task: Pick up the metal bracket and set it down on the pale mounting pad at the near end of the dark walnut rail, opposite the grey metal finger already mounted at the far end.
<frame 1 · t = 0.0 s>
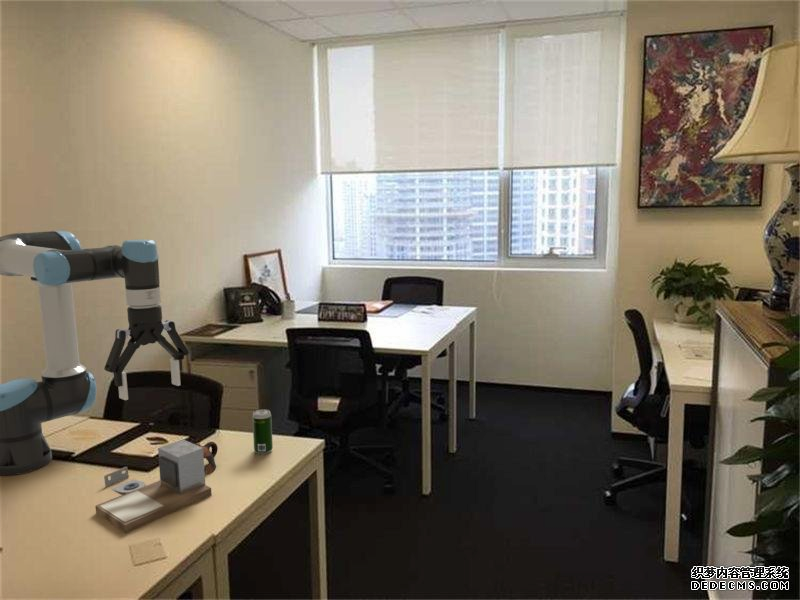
hand: (150, 391, 150), 28 cm above the table, fingers open, 13 cm apart
beer can: (263, 451, 183), on the table
pottery mug: (200, 468, 172), on the table
fixed finger: (183, 492, 158), resting on rail
bracket: (127, 487, 162), on the table
rail: (155, 504, 152), on the table
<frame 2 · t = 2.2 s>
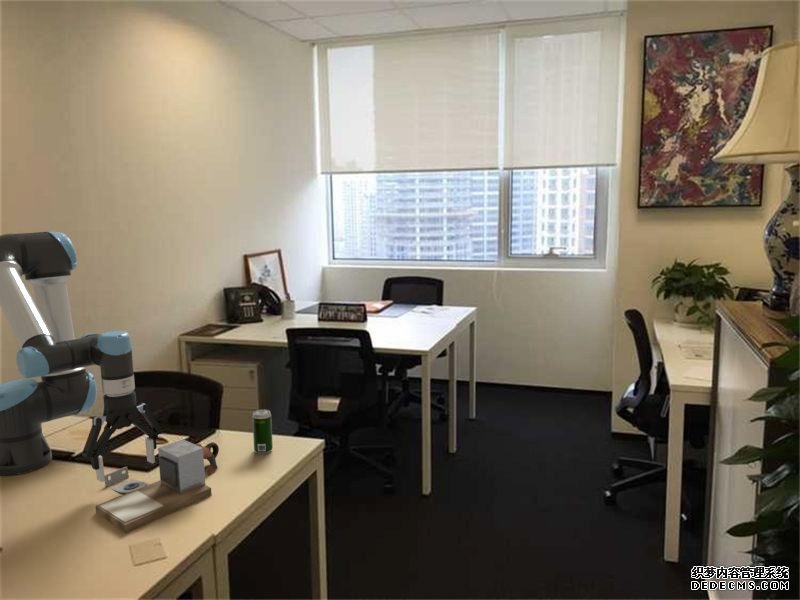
hand: (126, 470, 161), 4 cm above the table, fingers open, 13 cm apart
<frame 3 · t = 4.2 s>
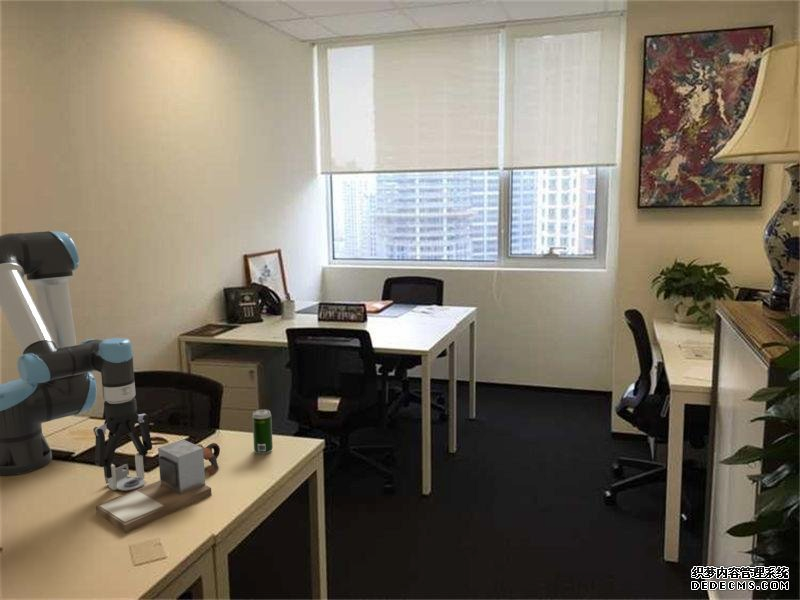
hand: (126, 482, 162), 1 cm above the table, fingers closed on bracket, 7 cm apart
bracket: (127, 484, 162), on the table, touching gripper
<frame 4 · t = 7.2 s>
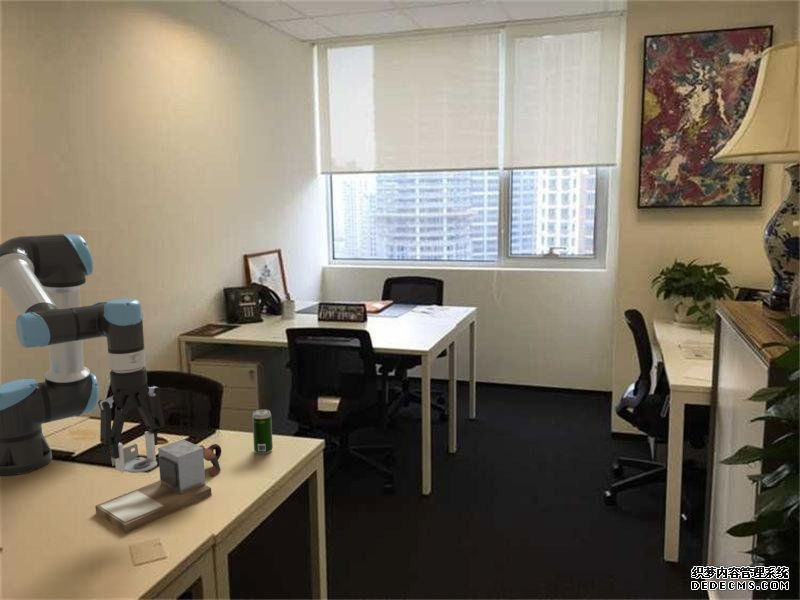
hand: (136, 464, 143), 14 cm above the table, fingers closed on bracket, 7 cm apart
bracket: (137, 466, 143), point 13 cm above the table, touching gripper
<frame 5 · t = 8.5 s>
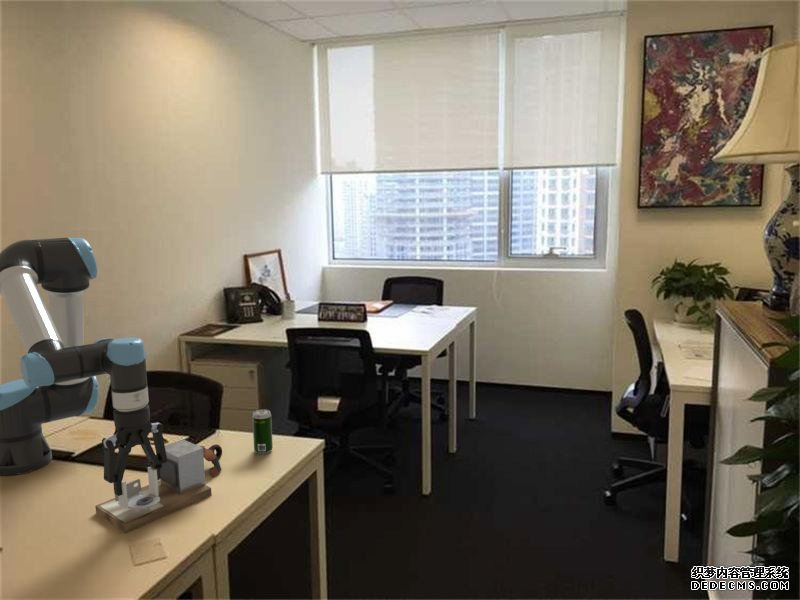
hand: (139, 500, 144), 5 cm above the table, fingers closed on bracket, 7 cm apart
bracket: (140, 502, 145), point 4 cm above the table, touching gripper
when the fingers open (3 cm above the table, at t = 9.8 s): bracket stays where it is, resting on rail.
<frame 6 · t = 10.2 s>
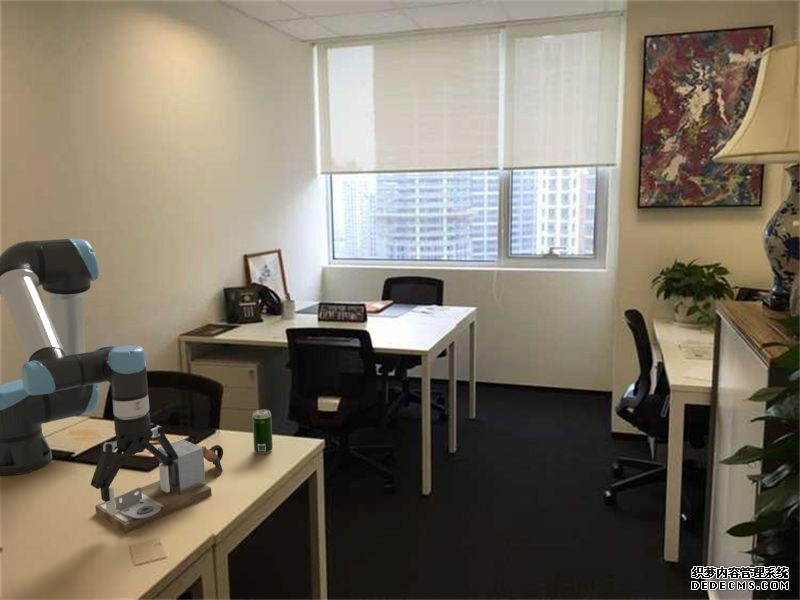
hand: (139, 501, 144), 5 cm above the table, fingers open, 13 cm apart
bracket: (140, 511, 145), point 2 cm above the table, touching rail
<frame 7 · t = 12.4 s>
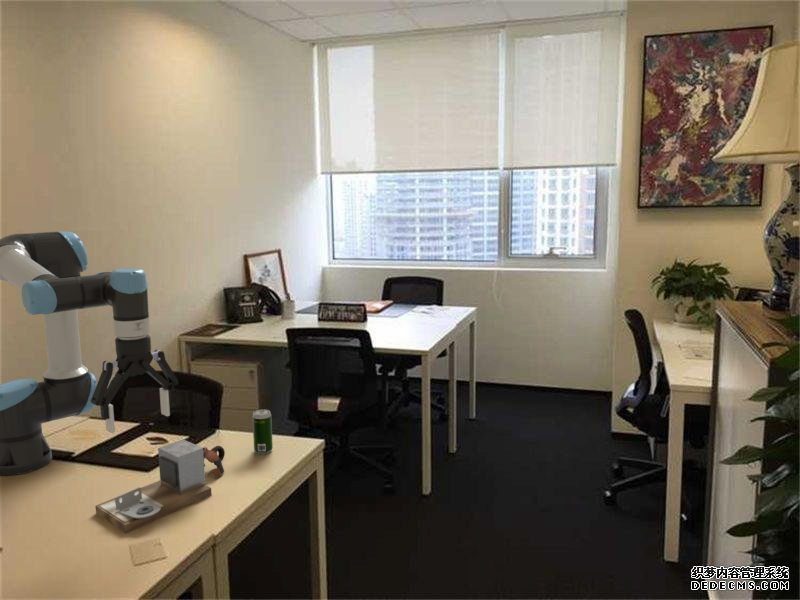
hand: (139, 422, 147), 22 cm above the table, fingers open, 13 cm apart
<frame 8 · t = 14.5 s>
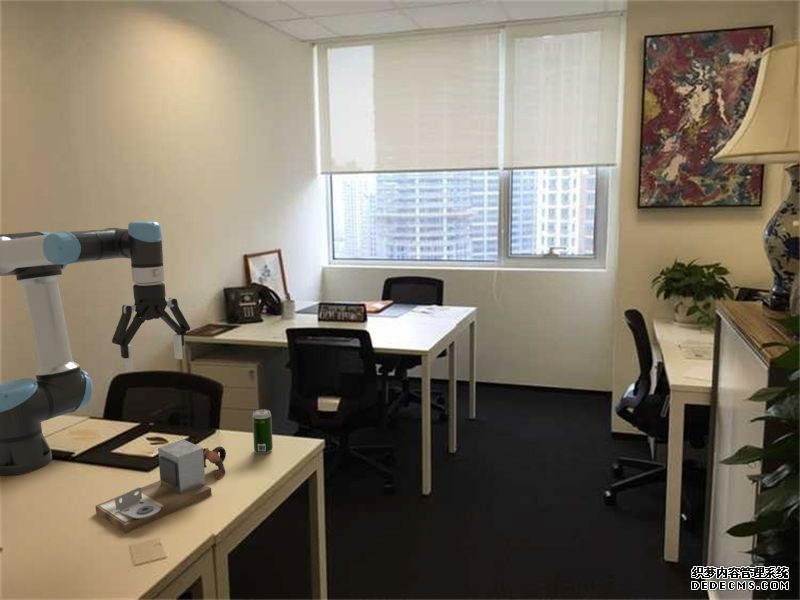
hand: (155, 364, 160), 32 cm above the table, fingers open, 13 cm apart
at the end: bracket inside the target area (3.8 cm from its centre), point 1.9 cm above the table; bracket touching rail; the gripper is holding nothing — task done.
